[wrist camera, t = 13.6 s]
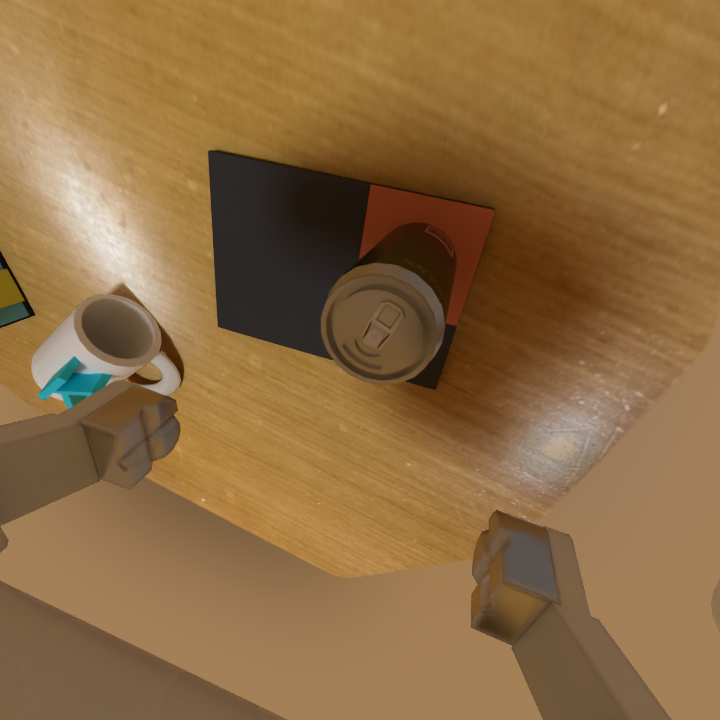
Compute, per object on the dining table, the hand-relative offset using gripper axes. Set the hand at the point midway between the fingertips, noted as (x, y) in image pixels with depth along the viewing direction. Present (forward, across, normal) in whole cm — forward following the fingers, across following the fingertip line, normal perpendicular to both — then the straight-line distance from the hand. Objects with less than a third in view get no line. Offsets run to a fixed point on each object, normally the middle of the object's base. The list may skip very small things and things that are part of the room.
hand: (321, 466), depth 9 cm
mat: (+20, +7, +3) cm, 22 cm away
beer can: (+20, +1, 0) cm, 20 cm away
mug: (+20, +28, +17) cm, 38 cm away
